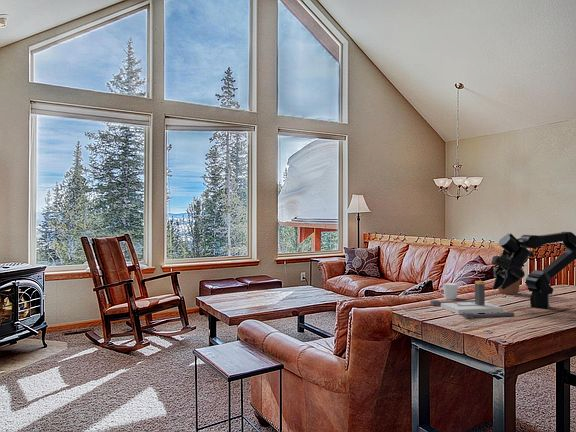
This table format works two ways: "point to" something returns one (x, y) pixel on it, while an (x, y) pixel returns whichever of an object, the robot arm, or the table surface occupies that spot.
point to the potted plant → (515, 286)
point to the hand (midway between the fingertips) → (497, 289)
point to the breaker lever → (480, 292)
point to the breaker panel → (471, 307)
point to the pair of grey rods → (471, 315)
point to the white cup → (450, 290)
